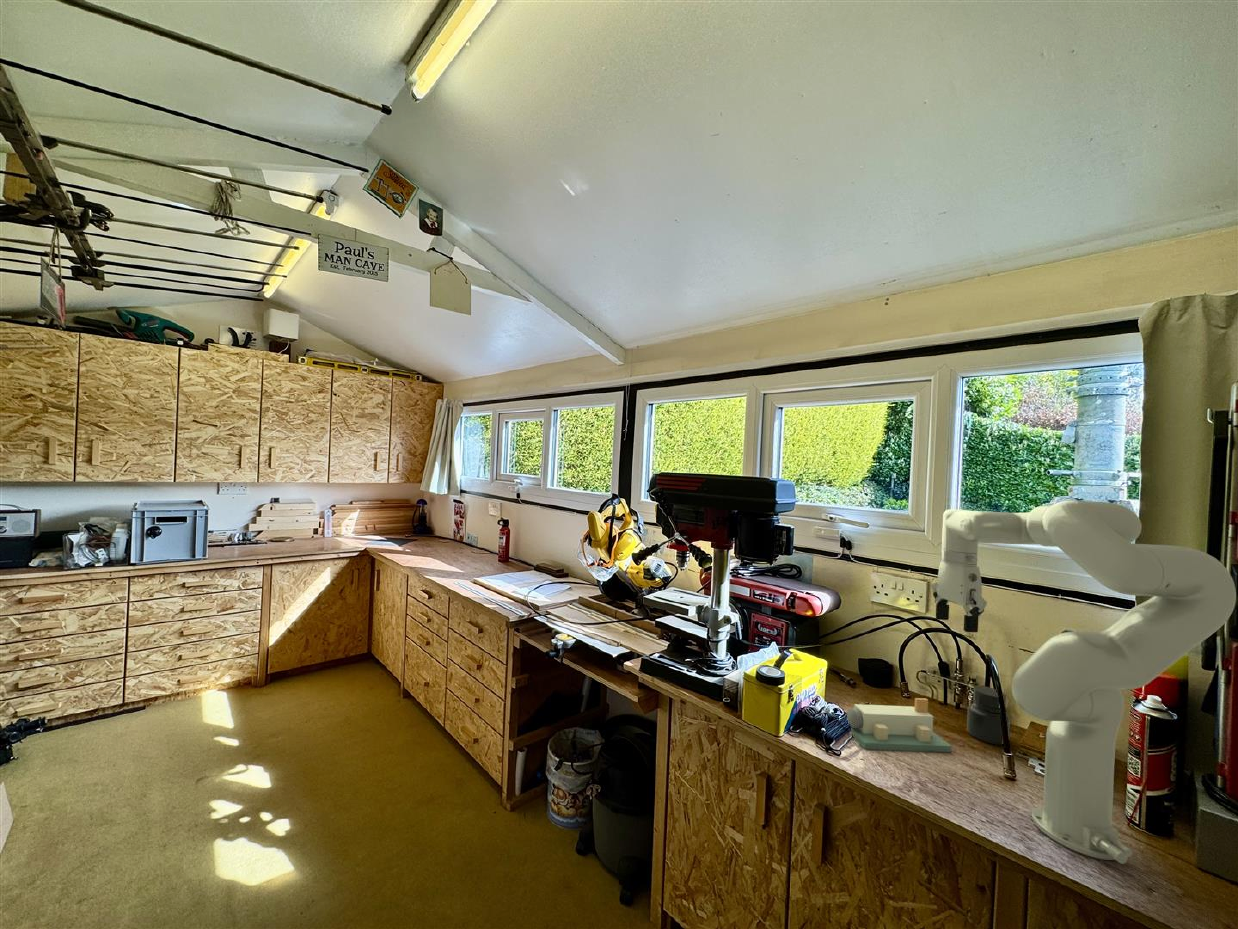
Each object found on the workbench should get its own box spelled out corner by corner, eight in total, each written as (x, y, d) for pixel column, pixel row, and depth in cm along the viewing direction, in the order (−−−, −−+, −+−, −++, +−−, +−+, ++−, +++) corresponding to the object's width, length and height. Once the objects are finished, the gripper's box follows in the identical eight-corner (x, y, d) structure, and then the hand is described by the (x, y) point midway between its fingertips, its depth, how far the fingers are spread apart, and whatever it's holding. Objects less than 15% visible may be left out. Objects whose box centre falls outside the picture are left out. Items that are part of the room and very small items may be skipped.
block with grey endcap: (932, 736, 123) (933, 703, 123) (856, 733, 122) (857, 700, 122) (919, 725, 128) (920, 694, 128) (845, 723, 127) (847, 691, 127)
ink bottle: (1019, 745, 124) (1021, 698, 125) (995, 749, 121) (998, 701, 122) (979, 725, 133) (981, 682, 134) (957, 729, 131) (959, 685, 131)
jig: (951, 752, 119) (952, 733, 119) (864, 749, 118) (865, 730, 118) (914, 722, 133) (914, 706, 133) (836, 719, 132) (836, 703, 132)
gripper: (1001, 565, 114) (998, 638, 114) (948, 553, 132) (945, 616, 131) (971, 563, 114) (967, 636, 114) (921, 551, 131) (918, 614, 131)
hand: (955, 625), depth 122 cm, fingers open, 9 cm apart
